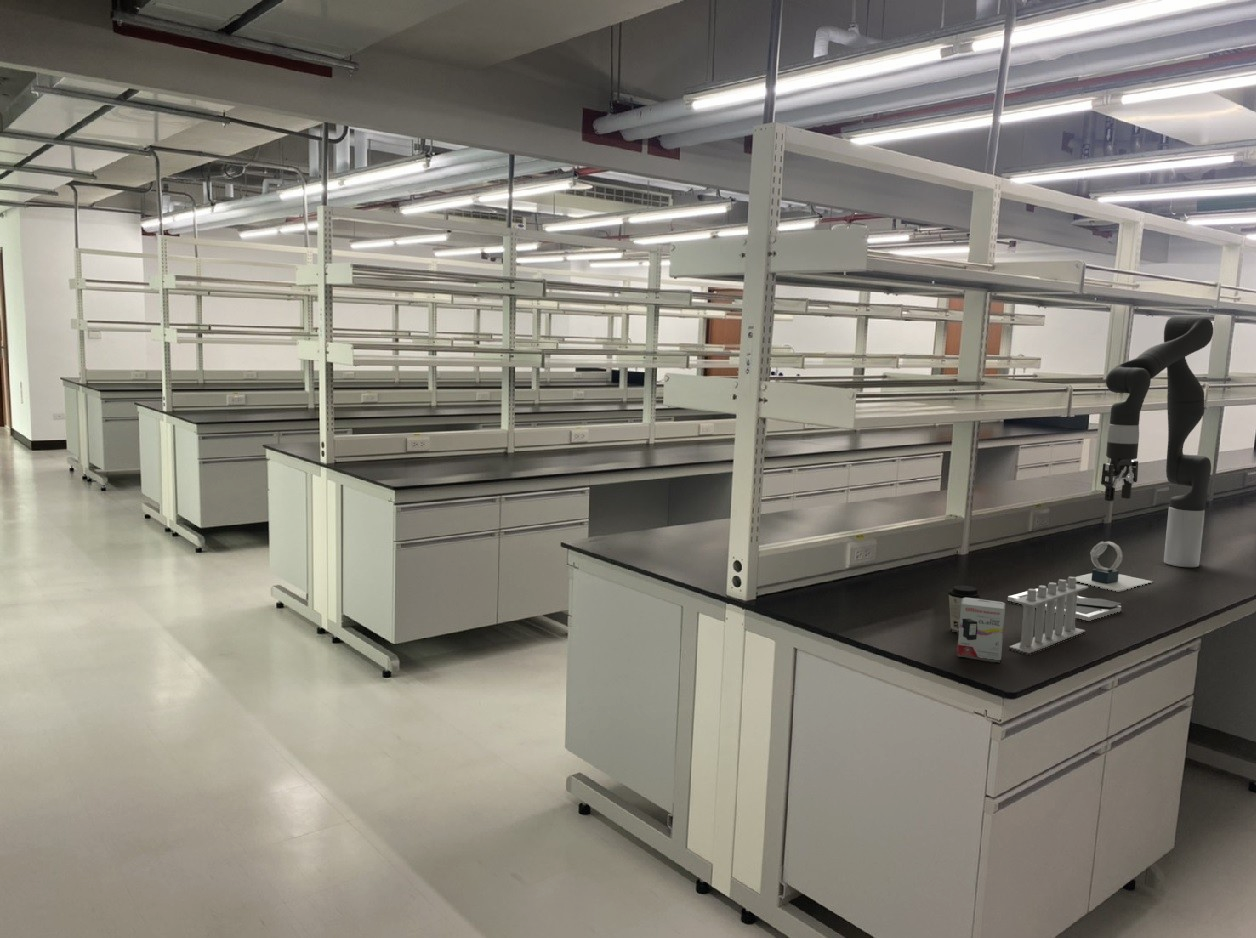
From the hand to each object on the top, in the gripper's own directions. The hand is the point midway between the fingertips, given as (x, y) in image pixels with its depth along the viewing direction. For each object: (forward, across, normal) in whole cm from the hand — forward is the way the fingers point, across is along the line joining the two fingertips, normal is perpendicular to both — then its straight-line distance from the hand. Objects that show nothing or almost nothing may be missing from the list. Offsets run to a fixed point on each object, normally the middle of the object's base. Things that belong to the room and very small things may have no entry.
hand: (1117, 499), depth 248 cm
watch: (+23, -3, 0) cm, 23 cm away
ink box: (+23, -86, -19) cm, 92 cm away
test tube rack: (+23, -64, -21) cm, 71 cm away
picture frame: (+24, -35, -7) cm, 43 cm away
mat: (+23, 0, 0) cm, 23 cm away
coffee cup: (+23, -74, -6) cm, 78 cm away
